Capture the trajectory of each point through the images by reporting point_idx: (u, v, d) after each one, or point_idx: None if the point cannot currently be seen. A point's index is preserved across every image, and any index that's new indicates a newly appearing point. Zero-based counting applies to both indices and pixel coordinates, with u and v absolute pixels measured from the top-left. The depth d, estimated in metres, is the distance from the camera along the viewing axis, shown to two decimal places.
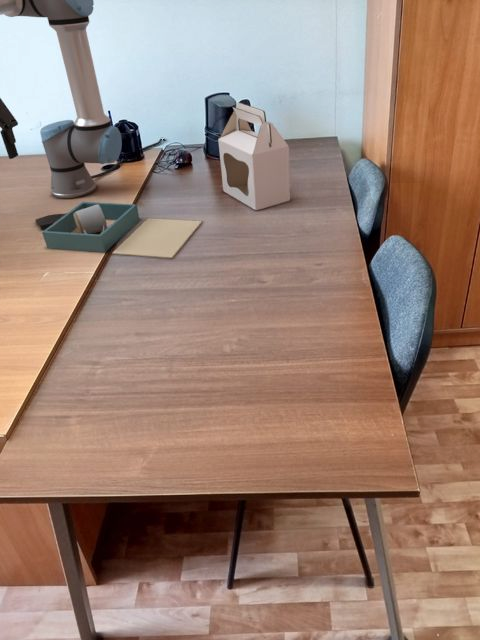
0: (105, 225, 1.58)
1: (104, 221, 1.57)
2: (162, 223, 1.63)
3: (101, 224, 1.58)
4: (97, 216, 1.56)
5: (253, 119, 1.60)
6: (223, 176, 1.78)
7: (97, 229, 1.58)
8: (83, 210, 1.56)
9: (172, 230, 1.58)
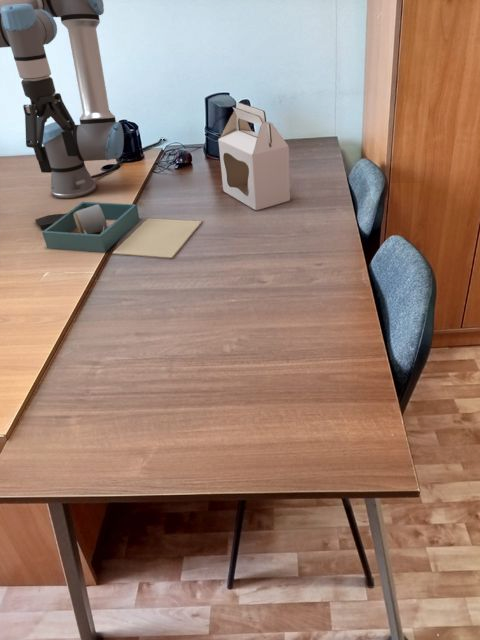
0: (105, 225, 1.58)
1: (104, 221, 1.57)
2: (162, 223, 1.63)
3: (101, 224, 1.58)
4: (97, 216, 1.56)
5: (253, 119, 1.60)
6: (223, 176, 1.78)
7: (97, 229, 1.58)
8: (83, 210, 1.56)
9: (172, 230, 1.58)
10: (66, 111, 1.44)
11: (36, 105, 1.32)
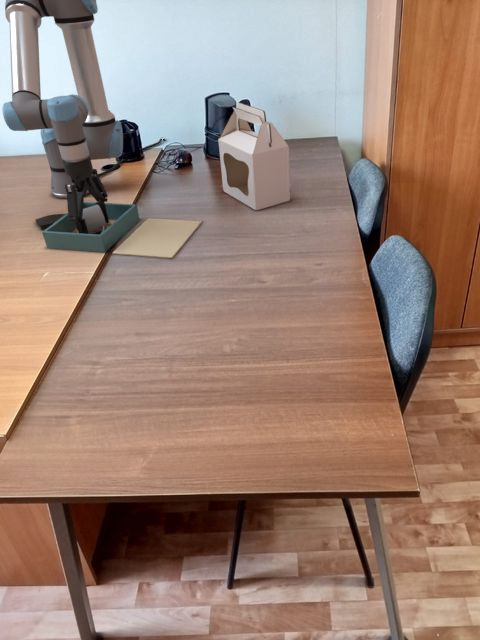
0: (105, 225, 1.58)
1: (104, 221, 1.57)
2: (162, 223, 1.63)
3: (101, 224, 1.57)
4: (97, 216, 1.56)
5: (253, 119, 1.60)
6: (223, 176, 1.78)
7: (97, 229, 1.58)
8: (83, 210, 1.56)
9: (172, 230, 1.58)
10: (100, 184, 1.58)
11: (76, 182, 1.47)
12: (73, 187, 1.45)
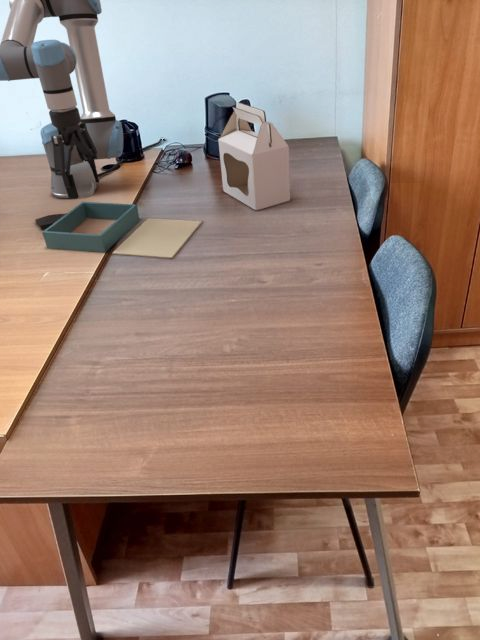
0: (94, 183, 1.50)
1: (93, 179, 1.50)
2: (162, 223, 1.63)
3: (90, 182, 1.50)
4: (85, 173, 1.48)
5: (253, 119, 1.60)
6: (223, 176, 1.78)
7: (86, 187, 1.50)
8: (71, 167, 1.48)
9: (172, 230, 1.58)
10: (90, 140, 1.51)
11: (63, 134, 1.39)
12: (60, 139, 1.38)
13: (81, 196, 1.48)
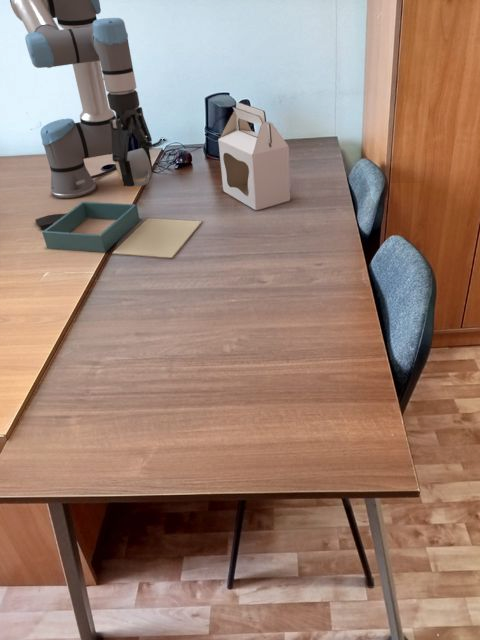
0: (150, 171, 1.43)
1: (149, 166, 1.43)
2: (162, 223, 1.63)
3: (145, 169, 1.43)
4: (141, 159, 1.41)
5: (253, 119, 1.60)
6: (223, 176, 1.78)
7: (141, 175, 1.43)
8: None
9: (172, 230, 1.58)
10: (145, 126, 1.44)
11: (121, 118, 1.33)
12: (119, 122, 1.31)
13: (137, 184, 1.41)
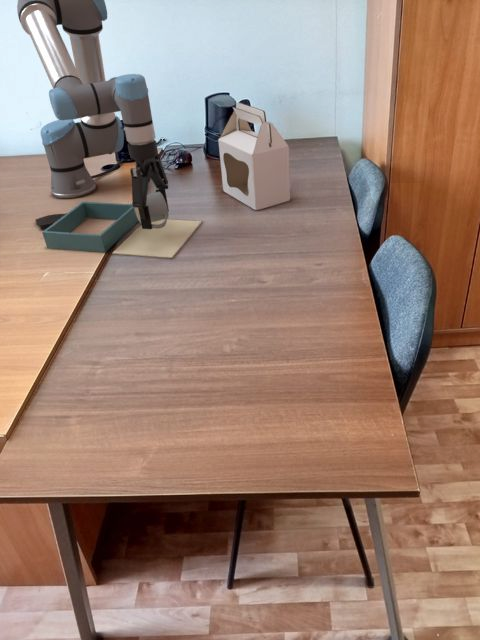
0: (167, 213, 1.50)
1: (166, 209, 1.49)
2: None
3: (163, 212, 1.49)
4: (159, 203, 1.48)
5: (253, 119, 1.60)
6: (223, 176, 1.78)
7: (158, 218, 1.50)
8: None
9: (172, 230, 1.58)
10: (162, 170, 1.50)
11: (141, 167, 1.39)
12: (139, 171, 1.37)
13: (155, 227, 1.48)
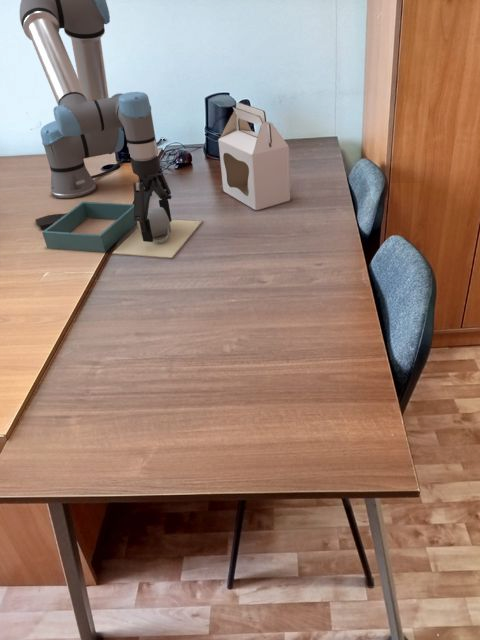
0: (169, 228, 1.53)
1: (169, 224, 1.52)
2: None
3: (165, 227, 1.52)
4: (162, 219, 1.51)
5: (253, 119, 1.60)
6: (223, 176, 1.78)
7: (161, 233, 1.53)
8: None
9: (172, 230, 1.58)
10: (165, 182, 1.53)
11: (144, 182, 1.42)
12: (142, 185, 1.40)
13: (157, 242, 1.51)
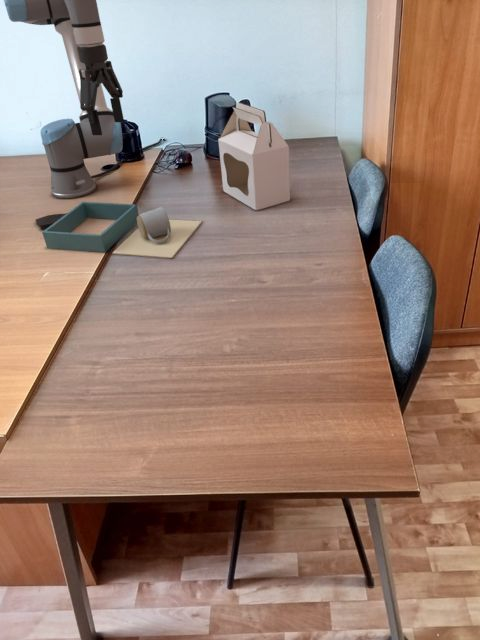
0: (169, 228, 1.53)
1: (169, 224, 1.52)
2: None
3: (165, 227, 1.52)
4: (162, 219, 1.51)
5: (253, 119, 1.60)
6: (223, 176, 1.78)
7: (161, 233, 1.53)
8: (147, 213, 1.51)
9: (172, 230, 1.58)
10: (115, 78, 1.53)
11: (90, 70, 1.41)
12: (87, 72, 1.39)
13: (157, 242, 1.51)
